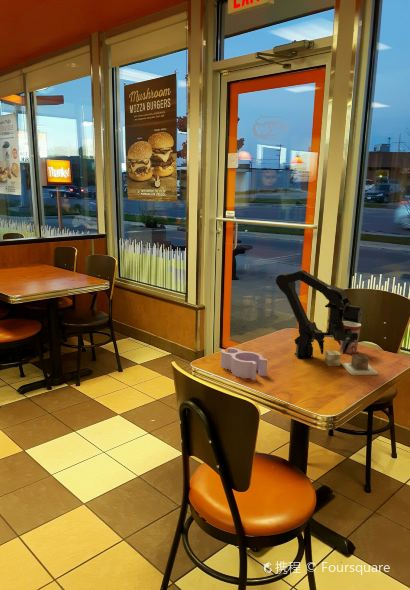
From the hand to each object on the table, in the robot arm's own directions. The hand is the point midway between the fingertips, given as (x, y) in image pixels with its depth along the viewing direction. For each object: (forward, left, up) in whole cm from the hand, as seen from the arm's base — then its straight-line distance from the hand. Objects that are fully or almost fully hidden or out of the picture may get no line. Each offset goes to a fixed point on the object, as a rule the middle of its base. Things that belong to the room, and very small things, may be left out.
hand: (332, 354), depth 192 cm
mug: (+12, +17, -5) cm, 21 cm away
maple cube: (0, 0, -4) cm, 4 cm away
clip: (-40, -8, -5) cm, 41 cm away
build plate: (+9, -7, -4) cm, 12 cm away
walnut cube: (+9, -7, -3) cm, 12 cm away
